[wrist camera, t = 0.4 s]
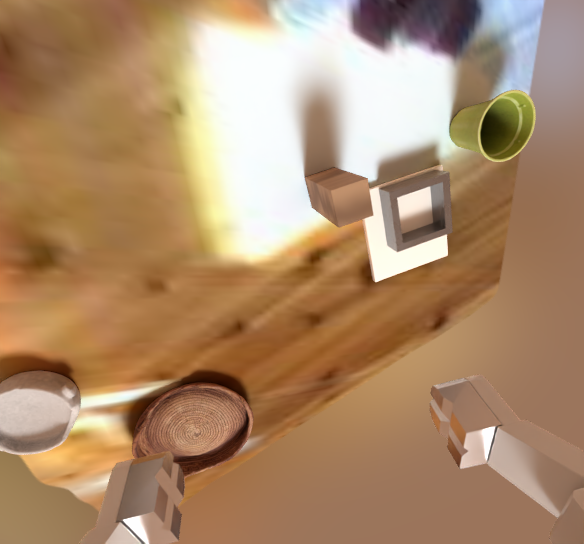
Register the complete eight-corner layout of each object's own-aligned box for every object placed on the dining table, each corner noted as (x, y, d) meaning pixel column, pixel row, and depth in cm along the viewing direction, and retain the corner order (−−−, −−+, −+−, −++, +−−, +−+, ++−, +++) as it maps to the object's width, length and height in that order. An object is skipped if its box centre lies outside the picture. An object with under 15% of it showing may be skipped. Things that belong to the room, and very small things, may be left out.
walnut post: (304, 177, 53) (330, 190, 42) (334, 167, 53) (367, 178, 43) (312, 207, 55) (338, 227, 44) (340, 197, 56) (373, 215, 45)
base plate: (357, 192, 56) (359, 193, 55) (438, 164, 57) (442, 165, 57) (373, 279, 63) (375, 282, 62) (444, 253, 65) (447, 255, 64)
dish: (79, 362, 56) (69, 383, 52) (91, 425, 61) (83, 449, 57) (-26, 370, 52) (-47, 393, 48) (-4, 436, 58) (-21, 463, 53)
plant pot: (441, 99, 53) (481, 95, 45) (493, 90, 55) (541, 85, 47) (438, 161, 57) (475, 167, 49) (487, 151, 59) (530, 155, 51)
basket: (217, 357, 62) (219, 374, 58) (271, 419, 71) (275, 438, 67) (112, 420, 62) (105, 443, 58) (179, 474, 71) (177, 497, 67)
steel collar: (378, 188, 55) (389, 192, 52) (435, 169, 57) (449, 172, 53) (387, 245, 60) (397, 252, 57) (439, 226, 61) (452, 232, 58)
